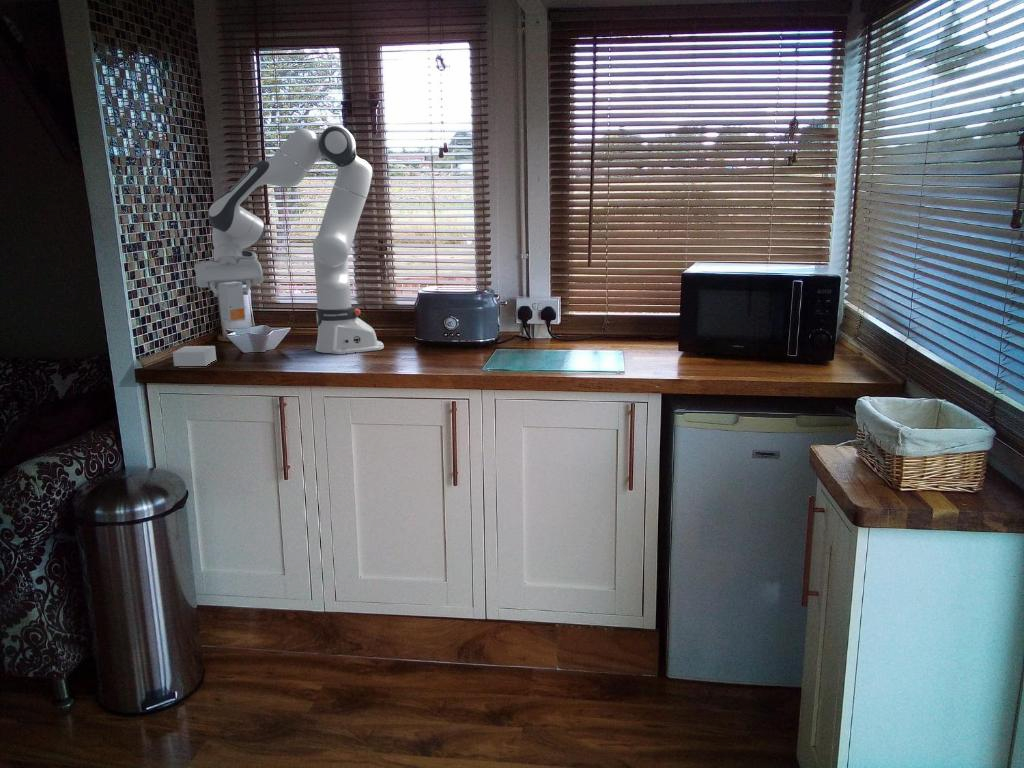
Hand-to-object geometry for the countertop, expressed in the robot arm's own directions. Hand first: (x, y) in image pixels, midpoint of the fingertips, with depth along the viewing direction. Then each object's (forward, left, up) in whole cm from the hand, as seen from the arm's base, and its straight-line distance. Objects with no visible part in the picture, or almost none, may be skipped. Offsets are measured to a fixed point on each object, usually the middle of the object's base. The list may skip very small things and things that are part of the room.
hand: (231, 294), depth 259 cm
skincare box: (0, 0, -8) cm, 8 cm away
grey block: (+13, 0, -21) cm, 25 cm away
